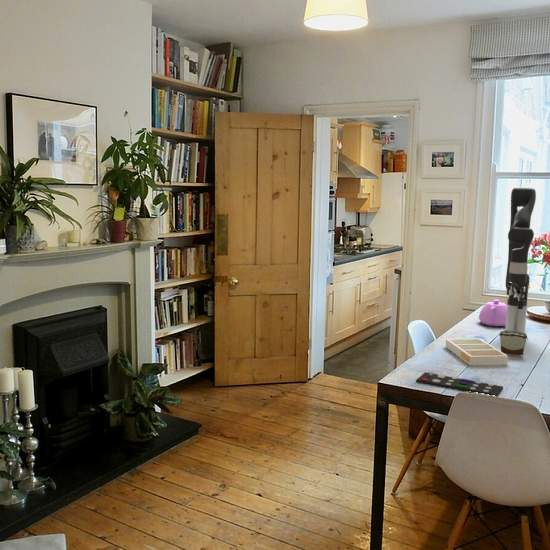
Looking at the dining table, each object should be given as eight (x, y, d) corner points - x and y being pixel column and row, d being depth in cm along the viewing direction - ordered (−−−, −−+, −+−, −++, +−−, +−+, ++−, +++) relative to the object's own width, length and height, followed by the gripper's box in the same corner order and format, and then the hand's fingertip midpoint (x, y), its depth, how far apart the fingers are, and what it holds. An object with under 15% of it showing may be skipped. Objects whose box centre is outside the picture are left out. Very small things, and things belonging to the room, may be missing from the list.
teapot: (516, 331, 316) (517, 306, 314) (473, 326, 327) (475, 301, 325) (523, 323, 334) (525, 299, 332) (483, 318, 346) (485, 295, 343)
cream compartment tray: (445, 347, 285) (445, 338, 284) (479, 346, 286) (479, 338, 286) (469, 365, 257) (469, 356, 256) (507, 364, 258) (508, 355, 257)
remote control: (425, 375, 244) (425, 371, 244) (502, 390, 228) (503, 385, 228) (415, 383, 235) (416, 378, 235) (496, 399, 219) (496, 393, 219)
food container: (526, 353, 276) (528, 332, 275) (526, 356, 271) (528, 335, 269) (498, 349, 281) (500, 329, 280) (497, 353, 276) (498, 332, 274)
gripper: (534, 274, 263) (531, 310, 266) (518, 269, 277) (515, 303, 280) (517, 274, 263) (515, 310, 265) (502, 269, 277) (500, 304, 279)
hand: (515, 307), depth 273 cm, fingers open, 8 cm apart
